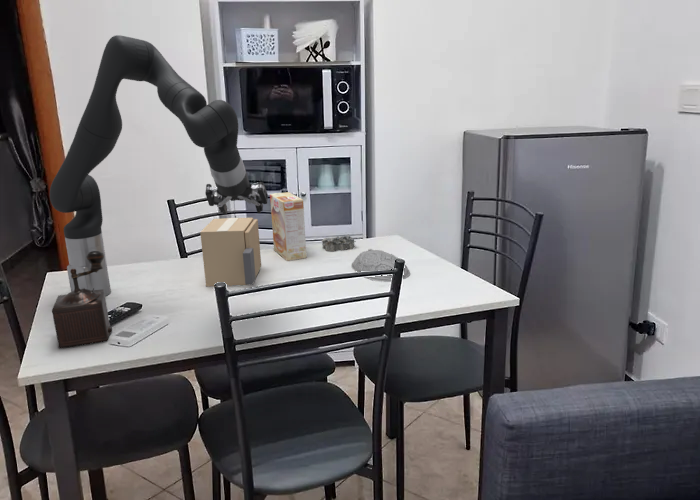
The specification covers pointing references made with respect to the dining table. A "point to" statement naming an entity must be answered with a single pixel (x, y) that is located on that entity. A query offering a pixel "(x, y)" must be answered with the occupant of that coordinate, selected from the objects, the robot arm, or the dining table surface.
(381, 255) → the grey oval domed piece
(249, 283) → the carton flap
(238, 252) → the carton
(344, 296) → the dining table surface
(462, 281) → the dining table surface
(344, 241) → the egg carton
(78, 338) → the manual coffee grinder
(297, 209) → the coffeecake box
